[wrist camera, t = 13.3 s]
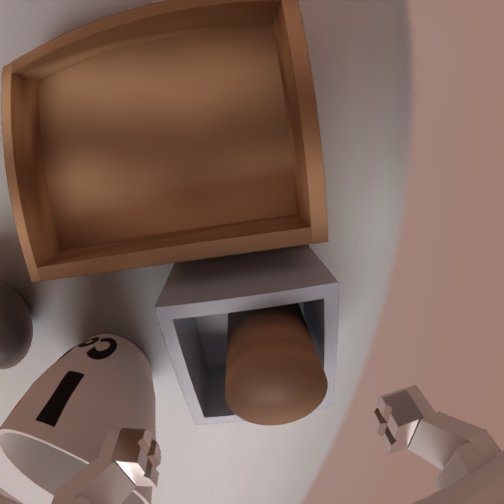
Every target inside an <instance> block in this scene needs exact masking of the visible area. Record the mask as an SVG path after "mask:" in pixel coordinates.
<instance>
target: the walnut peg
mask: <svg viewBox="0 0 504 504" xmlns="http://www.w3.org/2000/svg"><path fill="white" fill-rule="evenodd" d="M327 389H328V381H327V377H326V375H325V372H324V369H323V367H322V364H321V361H320V359H319V356H318V353H317V351H316V348H315V346H314V343H313V340H312V338H311V335H310V333H309V330H308V327H307V325H306V322H305V320H304V317H303V314H302V312H301V309H300V307H299V304H298V303H293V304H287V305H281V306H274V307H267V308H261V309H254V310H246V311H239V312H231V313H228V329H227V353H226V380H225V399H226V402H227V405H228V407H229V408H230V409H231V411H232V412H233V413H234V414H236V415H237V416H238V417H240V418H241V419H243V420H246V421H248V422H251V423H255V424H260V425H281V424H286V423H290V422H293V421H296V420H299V419H301V418H303V417H305V416H307V415H308V414H310V413H311V412H312V411H314V410H315V409H316V408H317V407H318V406H319V405H320V404H321V402H322V401H323V399H324V398H325V395H326V393H327Z"/></svg>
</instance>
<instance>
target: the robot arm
mask: <svg viewBox="0 0 504 504" xmlns="http://www.w3.org/2000/svg"><path fill="white" fill-rule="evenodd" d="M376 405H377V407H378V408H377V409H376V410H375V411H374V415H373V422H374V426H375V429H376V432H377V434H380V435H381V436H383V439H382V444H383V446H384V448H385V450H386V452H387V454H388V455H389V454H392V453H395V452H398V451H400V450H403V449H406V448H408V449H409V450H411V451H412V452H414V453H415V454H417V455H419V456H420V457H422V458H423V459H425V460H427V461H428V462H430V463H432V464H433V465H435V466H437V467H438V468H440V469H442V471H441V472H440V474H439V475H438V476H437V478H436V479H435V481H434V483H435V485H436V487H437V489H438V492H435V493H433V494H431V495H429V496H427V497H425V498H423V499H421V500H419V501H416V502H414V503H412V504H504V451H503V452H502V451H501V449H500V448H499V446H498V445H497V444H496V442H495V441H494V440H493V438H492V437H491V435H490V434H489V433H488V431H487V430H485V429H482V428H480V427H477V426H475V425H472V424H469V423H467V422H464V421H462V420H459V419H457V418H454V417H452V416H449V415H447V414H444V413H442V412H435V411H434V409H433V408H432V406H431V405H430V403H429V402H428V401H427V399H426V398H425V396H424V395H423V394H422V392H421V391H420V390H419V388H418V387H417V386H416V385H413V386H410V387H408V388H405V389H401V390H398V391H395V392H392V393H389V394H386V395H383V396H380V397H378V399H377V402H376ZM160 461H161V451H160V447H159V445H158V443H157V442H156V441H155V440H153V439H152V433H151V432H150V430H149V429H133V428H120V427H110V428H109V429H108V432H107V434H106V437H105V440H104V443H103V446H102V449H101V452H100V455H99V458H98V459H94V460H93V461H92V462H91V463H89V464H88V465H87V466H86V467H84V468H83V469H82V470H81V471H79V472H78V473H77V474H76V475H74V476H73V477H72V478H70V479H69V480H68V481H67V482H65V483H64V484H63V485H61V486H60V487H59V488H57V489H56V492H55V495H54V498H53V501H52V504H121V503H122V502H123V501H124V500H125V499H126V498H127V497H128V495H129V494H130V493H131V492H132V491H133V490H134V488H135V487H136V486H149V487H157V481H158V475H159V473H158V471H157V470H156V467H157V466H158V465H159V464H160ZM0 504H21V503H19V502H17V501H15V500H13V499H11V498H9V497H7V496H5V495H3V494H1V493H0Z"/></svg>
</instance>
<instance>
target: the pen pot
mask: <svg viewBox="0 0 504 504" xmlns="http://www.w3.org/2000/svg"><path fill="white" fill-rule="evenodd" d="M338 302H339V282H338V281H337V280H336V278H335V277H334V276H333V275H332V274H331V272H330V271H329V270H328V269H327V267H326V266H325V265H324V264H323V263H322V261H321V260H320V259H319V258H318V257H317V255H316V254H315V253H314V252H313V251H312V249H311V248H310V247H309V246H308V245H303V246H296V247H289V248H281V249H274V250H267V251H260V252H252V253H245V254H238V255H231V256H224V257H216V258H209V259H202V260H195V261H187V262H180V263H175V264H174V266H173V268H172V270H171V273H170V275H169V277H168V279H167V281H166V283H165V285H164V287H163V290H162V292H161V294H160V296H159V298H158V301H157V303H156V305H155V307H154V308H155V312H156V315H157V318H158V322H159V325H160V328H161V332H162V335H163V338H164V341H165V344H166V347H167V350H168V353H169V356H170V359H171V362H172V365H173V368H174V371H175V373H176V376H177V379H178V382H179V385H180V387H181V390H182V393H183V395H184V398H185V400H186V403H187V405H188V408H189V411H190V413H191V416H192V418H193V420H194V423H195V425H208V424H222V423H233V422H243V421H246V420H243V419H241V418H240V417H238V416H237V415H236V414H234V413H233V412H232V411H231V409H230V408H229V407H228V405H227V402H226V399H225V380H226V353H227V329H228V313H231V312H239V311H246V310H254V309H261V308H267V307H274V306H281V305H287V304H293V303H298V304H299V307H300V309H301V312H302V314H303V317H304V320H305V322H306V325H307V327H308V330H309V333H310V335H311V338H312V340H313V343H314V346H315V348H316V351H317V353H318V356H319V359H320V361H321V364H322V367H323V369H324V372H325V375H326V377H327V381H328V389H327V393H326V395H325V398H324V399H323V401H322V402H321V404H320V405H319V406H318V407H317V408H316V409H315V410H317V409H322V408H327V407H331V406H334V396H335V383H336V366H337V345H338Z"/></svg>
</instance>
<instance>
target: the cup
mask: <svg viewBox="0 0 504 504" xmlns="http://www.w3.org/2000/svg"><path fill="white" fill-rule="evenodd" d="M110 427H120V428H133V429H149V430H150V432H151V433H152V439H153V440H155V441H156V431H155V393H154V387H153V381H152V374H151V368H150V364H149V361H148V359H147V358H146V356H145V355H144V353H143V352H142V351H141V350H140V349H139V348H138V347H137V346H136V345H134V344H133V343H132V342H130V341H128V340H127V339H125V338H122V337H120V336H117V335H113V334H97V335H94V336H92V337H91V338H89V339H87V340H86V341H84V342H82V343H80V344H79V345H77V346H75V347H74V348H72V349H70V350H69V351H67V352H66V353H65V354H64V355H63V356H62V357H60V358H59V359H58V360H57V361H56V362H55V363H54V364H53V365H52V366H51V367H50V368H49V369H47V370H46V371H45V372H44V373H43V374H42V375H41V376H40V377H39V378H38V379H37V380H36V381H35V382H34V383H33V384H32V385H31V387H30V388H29V389H28V391H27V392H26V393H25V395H24V396H23V397H22V398H21V400H20V401H19V402H18V404H17V405H16V406H15V408H14V409H13V410H12V412H11V413H10V415H9V416H8V417H7V419H6V420H5V422H4V423H3V424H2V426H1V427H0V450H1V451H2V453H3V454H4V456H5V457H6V458H7V459H8V461H9V462H10V463H11V464H12V465H13V466H14V467H15V468H16V469H17V470H18V471H19V472H20V473H22V474H23V475H24V476H25V477H26V478H28V479H29V480H30V481H31V482H33V483H34V484H36V485H37V486H38V487H40V488H41V489H43V490H45V491H46V492H48V493H49V494H51V495H53V496H54V495H55V492H56V489H57V488H59V487H60V486H61V485H63V484H64V483H65V482H67V481H68V480H69V479H70V478H72V477H73V476H74V475H76V474H77V473H78V472H79V471H81V470H82V469H83V468H84V467H86V466H87V465H88V464H89V463H91V462H92V461H93V460H94V459H98V458H99V455H100V452H101V449H102V446H103V443H104V440H105V437H106V434H107V432H108V429H109V428H110ZM151 497H152V487H149V486H136V487H135V488H134V490H133V491H132V492H131V493H130V494H129V495H128V497H127V498H126V499H125V500H124V501H123V502H122V503H121V504H151Z"/></svg>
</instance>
